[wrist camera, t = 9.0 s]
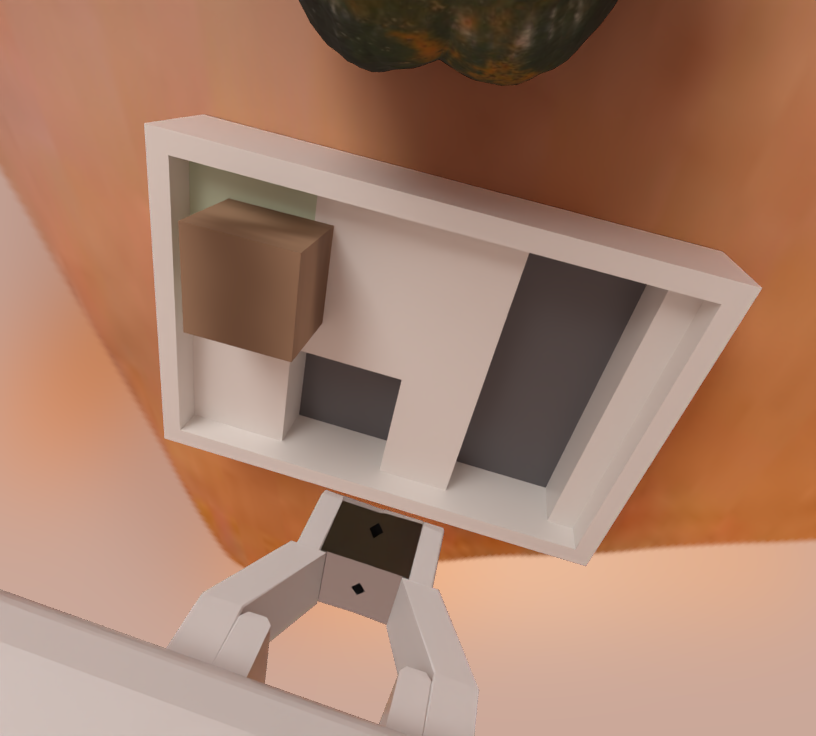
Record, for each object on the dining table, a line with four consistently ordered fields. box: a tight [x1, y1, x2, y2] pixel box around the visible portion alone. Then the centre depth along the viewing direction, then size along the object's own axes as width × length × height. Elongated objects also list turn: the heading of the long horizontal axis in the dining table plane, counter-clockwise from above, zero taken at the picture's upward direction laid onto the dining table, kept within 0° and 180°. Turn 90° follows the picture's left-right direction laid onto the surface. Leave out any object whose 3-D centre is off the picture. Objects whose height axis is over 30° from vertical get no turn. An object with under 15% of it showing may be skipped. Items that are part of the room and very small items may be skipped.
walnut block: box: [178, 198, 334, 362], centre depth 23 cm, size 5×5×4 cm
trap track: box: [144, 114, 762, 566], centre depth 26 cm, size 25×17×4 cm
